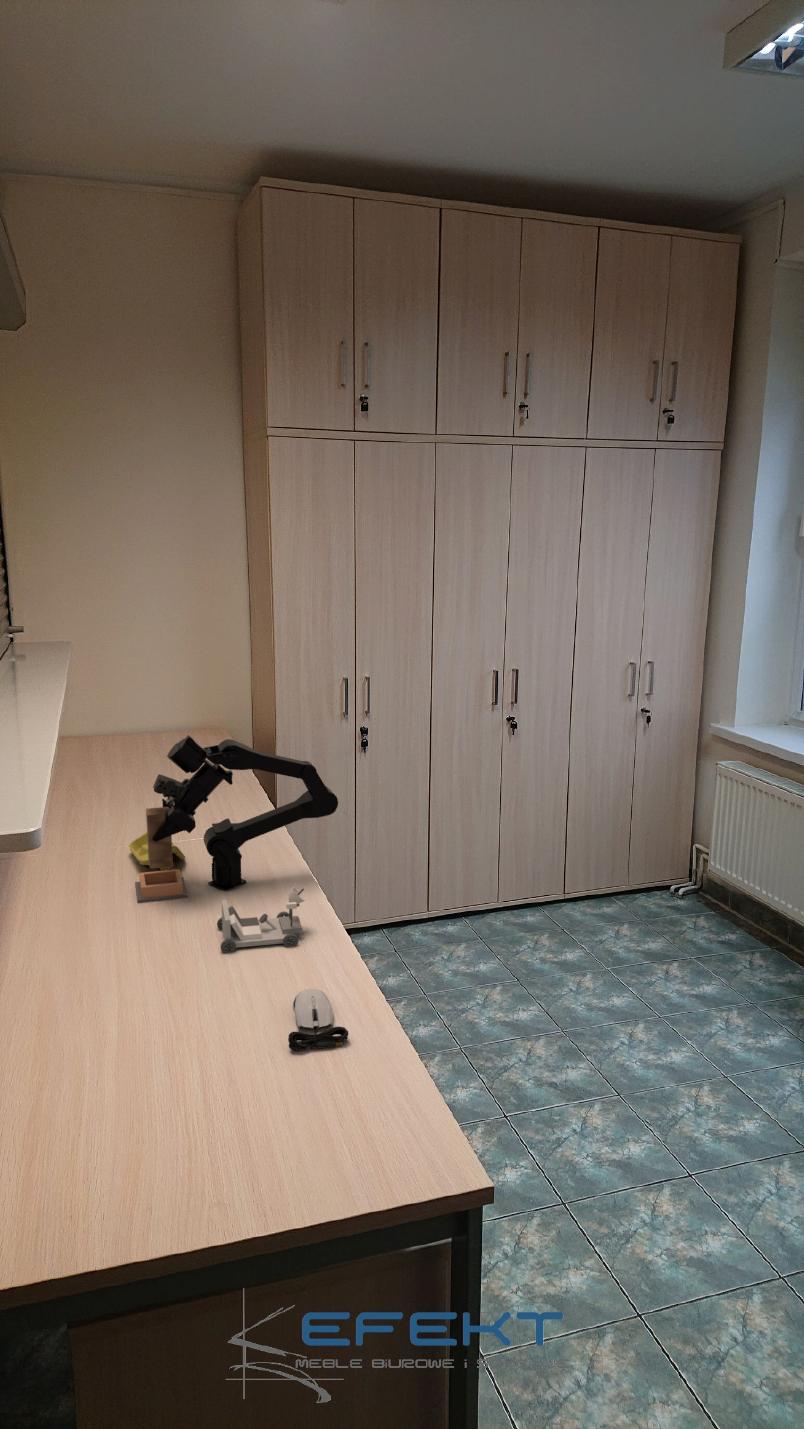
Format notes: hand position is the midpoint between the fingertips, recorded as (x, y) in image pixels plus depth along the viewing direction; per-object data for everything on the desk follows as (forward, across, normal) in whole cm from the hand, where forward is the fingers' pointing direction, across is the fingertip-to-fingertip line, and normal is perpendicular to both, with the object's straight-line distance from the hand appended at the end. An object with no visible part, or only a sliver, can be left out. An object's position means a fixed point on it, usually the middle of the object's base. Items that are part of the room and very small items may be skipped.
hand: (152, 836), depth 210 cm
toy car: (-4, +30, +24) cm, 38 cm away
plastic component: (+8, -19, +11) cm, 23 cm away
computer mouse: (-5, +65, +25) cm, 70 cm away
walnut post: (+4, 0, +6) cm, 7 cm away
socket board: (+8, 0, +10) cm, 13 cm away
